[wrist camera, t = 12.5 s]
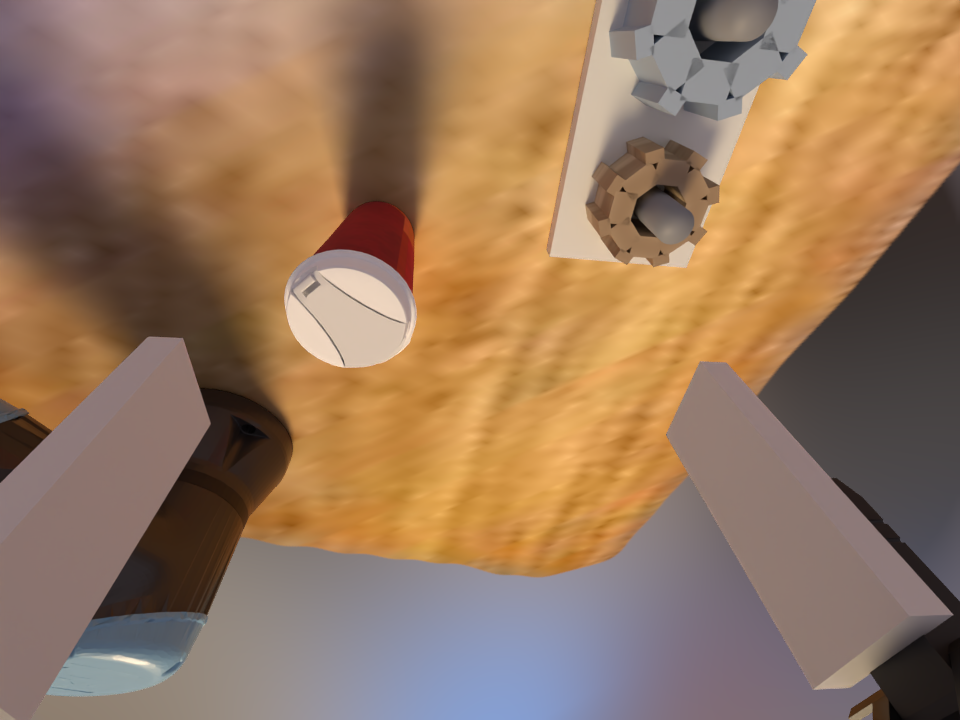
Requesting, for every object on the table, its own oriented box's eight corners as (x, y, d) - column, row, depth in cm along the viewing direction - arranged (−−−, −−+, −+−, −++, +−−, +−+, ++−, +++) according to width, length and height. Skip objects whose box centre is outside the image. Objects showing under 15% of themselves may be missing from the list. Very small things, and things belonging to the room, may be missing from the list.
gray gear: (640, -114, 25) (677, -143, 21) (811, -84, 26) (878, -107, 22) (593, 99, 31) (615, 108, 27) (734, 116, 32) (775, 127, 28)
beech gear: (576, 241, 36) (587, 261, 33) (602, 131, 32) (618, 142, 29) (670, 250, 37) (691, 270, 34) (710, 143, 33) (738, 155, 29)
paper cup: (312, 227, 36) (248, 313, 25) (381, 165, 34) (344, 230, 23) (380, 294, 40) (351, 395, 29) (447, 243, 38) (443, 332, 26)
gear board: (546, 249, 38) (566, 295, 31) (619, -116, 26) (680, -172, 19) (679, 260, 40) (726, 307, 33) (812, -84, 27) (935, -125, 20)
